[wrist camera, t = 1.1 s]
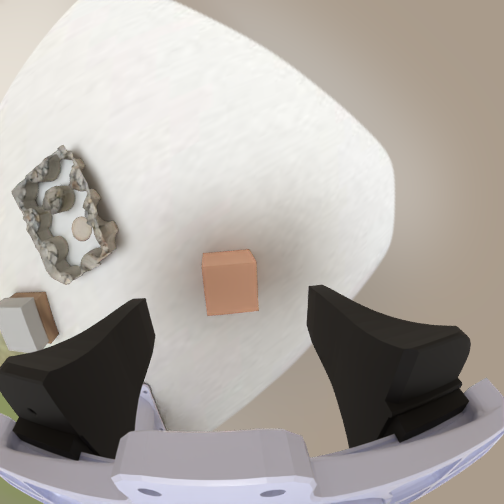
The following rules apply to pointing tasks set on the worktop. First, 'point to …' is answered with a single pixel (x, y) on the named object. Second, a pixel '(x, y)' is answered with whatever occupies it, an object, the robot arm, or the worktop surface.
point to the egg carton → (60, 201)
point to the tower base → (42, 312)
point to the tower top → (22, 325)
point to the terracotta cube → (230, 282)
